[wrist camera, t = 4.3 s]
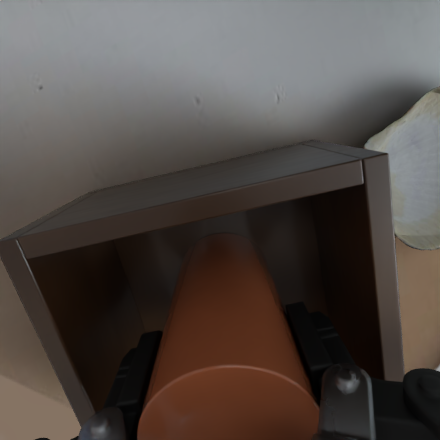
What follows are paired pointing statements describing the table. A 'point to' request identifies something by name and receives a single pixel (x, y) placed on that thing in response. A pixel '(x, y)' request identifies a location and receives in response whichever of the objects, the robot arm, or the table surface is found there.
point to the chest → (202, 227)
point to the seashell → (414, 171)
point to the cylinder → (227, 354)
